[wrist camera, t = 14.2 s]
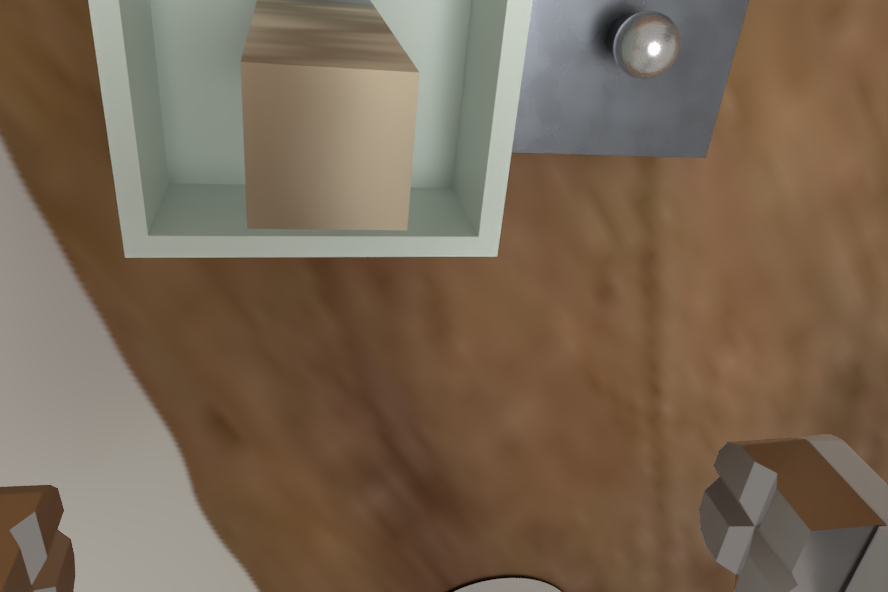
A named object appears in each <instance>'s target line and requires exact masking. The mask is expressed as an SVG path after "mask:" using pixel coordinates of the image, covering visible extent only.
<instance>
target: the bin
mask: <svg viewBox="0 0 888 592" xmlns="http://www.w3.org/2000/svg"><path fill="white" fill-rule="evenodd" d="M370 1H371V2H372V3H373V5H374V6H375V8H376V9H377V11H378V12H379V14H380V15H381V17H382V18H383V20H384V21H385V23H386V24H387V25H388V27H389V28H390V30H391V31H392V33H393V34H394V36H395V37H396V39H397V40H398V42H399V43H400V44H401V46H402V47H403V49H404V50H405V52H406V53H407V55H408V56H409V58H410V59H411V61H412V62H413V64H414V65H415V66H416V68H417V69H418V71H419V72H420V74H419V87H418V100H417V112H416V125H415V138H414V151H413V164H412V176H411V189H410V202H409V215H408V228H407V230H330V229H247V212H246V187H245V162H244V137H243V112H242V87H241V63H240V62H241V58H242V55H243V51H244V47H245V43H246V40H247V36H248V32H249V28H250V25H251V21H252V17H253V14H254V10H255V6H256V2H257V0H88V3H89V10H90V17H91V24H92V31H93V38H94V45H95V52H96V59H97V66H98V73H99V80H100V87H101V94H102V101H103V108H104V115H105V121H106V128H107V135H108V142H109V149H110V156H111V163H112V170H113V177H114V184H115V191H116V198H117V205H118V212H119V219H120V226H121V233H122V240H123V247H124V254H125V258H218V257H497V254H498V247H499V240H500V233H501V225H502V218H503V211H504V204H505V196H506V189H507V182H508V175H509V168H510V160H511V153H512V146H513V139H514V131H515V124H516V117H517V110H518V103H519V95H520V88H521V81H522V74H523V66H524V59H525V52H526V45H527V37H528V30H529V23H530V16H531V9H532V1H533V0H370Z"/></svg>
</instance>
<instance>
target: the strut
mask: <svg viewBox="0 0 888 592" xmlns="http://www.w3.org/2000/svg"><path fill="white" fill-rule="evenodd" d="M240 63H241V87H242V112H243V137H244V162H245V187H246V212H247V229H330V230H407V228H408V215H409V202H410V189H411V176H412V164H413V151H414V138H415V125H416V112H417V100H418V87H419V74H420V72H419V71H418V69H417V68H416V66H415V65H414V64H413V62H412V61H411V59H410V58H409V56H408V55H407V53H406V52H405V50H404V49H403V47H402V46H401V44H400V43H399V42H398V40H397V39H396V37H395V36H394V34H393V33H392V31H391V30H390V28H389V27H388V25H387V24H386V23H385V21H384V20H383V18H382V17H381V15H380V14H379V12H378V11H377V9H376V8H375V6H374V5H373V3H372V2H371V1H370V0H257V2H256V6H255V10H254V14H253V17H252V21H251V25H250V28H249V32H248V36H247V40H246V43H245V47H244V51H243V55H242V58H241V62H240Z"/></svg>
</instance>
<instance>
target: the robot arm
mask: <svg viewBox="0 0 888 592" xmlns="http://www.w3.org/2000/svg"><path fill="white" fill-rule="evenodd" d="M714 467H715V469H716V471H717V473H718V475H719V478H718V479H717V480H715V481H714V482H713V483H712V484H711V485H710V486H709V487H708V488H707V489H706V490H705V491H704V494H703V498H702V501H701V505H700V508H699V514H700V526H701V532H702V534H703V537H704V540H705V543H706V546H707V547H708V549H709V551H710V552H711V554H712V555H713V557H714V559H715V560H716V562H718V563H719V564H721V565H722V566H724V567H725V568H727V569H728V570H730V571H731V572H733V573H734V574H736V576H735V586H734V591H735V592H888V484H887V483H886V482H884V481H883V480H882V479H881V478H880V477H879V476H878V475H877V474H876V473H875V472H874V471H873V470H872V469H871V468H870V467H869V466H868V465H867V464H866V463H865V462H864V461H863V460H862V459H861V458H860V457H859V456H858V455H857V454H856V453H855V452H854V451H853V450H852V449H851V448H850V447H849V446H848V445H847V444H846V443H845V442H844V441H843V440H841V439H840V438H837V437H835V436H833V435H831V434H825V435H813V436H800V437H795V438H778V439H764V440H750V441H737V442H727V443H726V444H725V445H724V446H723V447H722V448H721V449H720V450H719V452H718V455H717V457H716V460H715V463H714ZM63 512H64V509H63V506H62V502H61V498H60V495H59V491H58V488H56V487H53V486H51V485H38V486H14V487H0V592H73V589H74V580H75V562H74V552H73V548H72V543H71V539H69V538H68V537H67V536H66V535H64V534H63V533H61V532H60V531H59V530H57V529H58V526H59V523H60V519H61V517H62V514H63ZM454 592H561V591H560V590H558V589H557V588H555V587H554V586H552V585H549V584H547V583H544V582H541V581H537V580H533V579H525V578H501V579H494V580H488V581H483V582H479V583H475V584H472V585H469V586H466V587H463V588H461V589H458V590H456V591H454Z"/></svg>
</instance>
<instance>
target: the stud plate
mask: <svg viewBox="0 0 888 592" xmlns="http://www.w3.org/2000/svg"><path fill="white" fill-rule="evenodd" d="M748 2H749V0H533V1H532V9H531V16H530V23H529V30H528V37H527V45H526V52H525V59H524V66H523V74H522V81H521V88H520V95H519V103H518V110H517V117H516V124H515V131H514V139H513V146H512V152H513V153H549V154H586V155H622V156H659V157H695V158H706V154H707V151H708V147H709V143H710V140H711V136H712V133H713V129H714V125H715V122H716V118H717V114H718V111H719V107H720V104H721V100H722V96H723V93H724V89H725V85H726V82H727V78H728V75H729V71H730V67H731V64H732V60H733V56H734V53H735V49H736V46H737V42H738V38H739V35H740V31H741V27H742V24H743V20H744V16H745V13H746V9H747V6H748Z"/></svg>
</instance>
